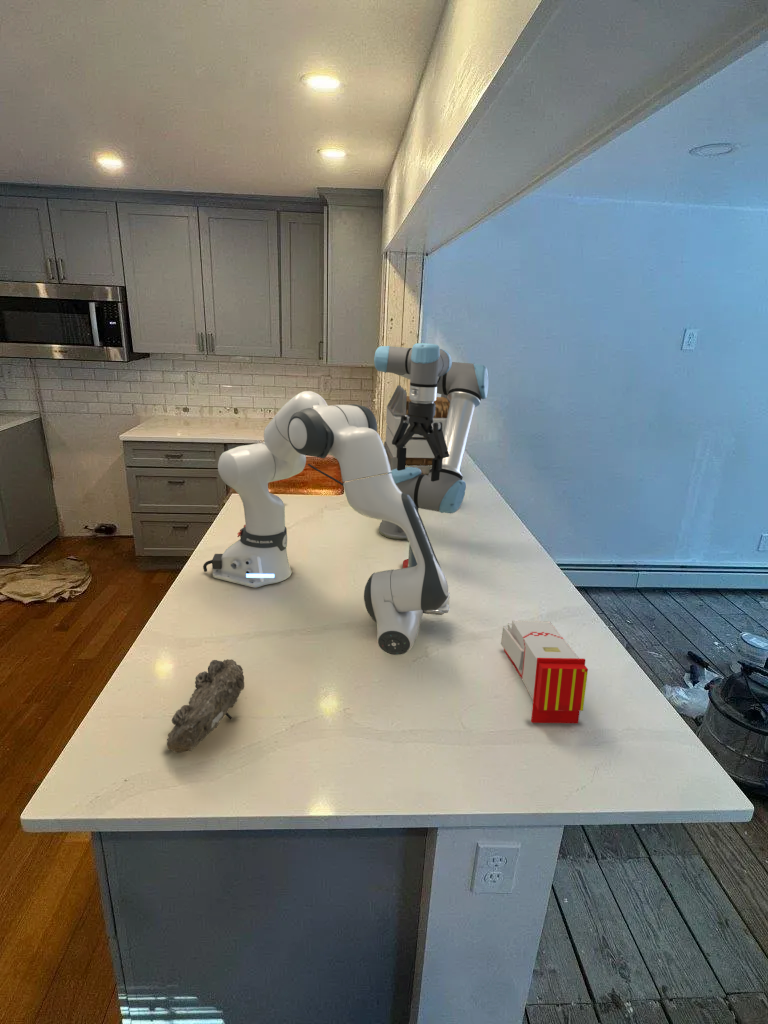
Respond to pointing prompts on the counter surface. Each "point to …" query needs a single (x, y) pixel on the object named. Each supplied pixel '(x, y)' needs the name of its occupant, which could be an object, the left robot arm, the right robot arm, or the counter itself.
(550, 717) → the toy
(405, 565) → the lid
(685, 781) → the counter surface
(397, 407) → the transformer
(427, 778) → the counter surface
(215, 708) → the fossil
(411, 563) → the grey cylinder
